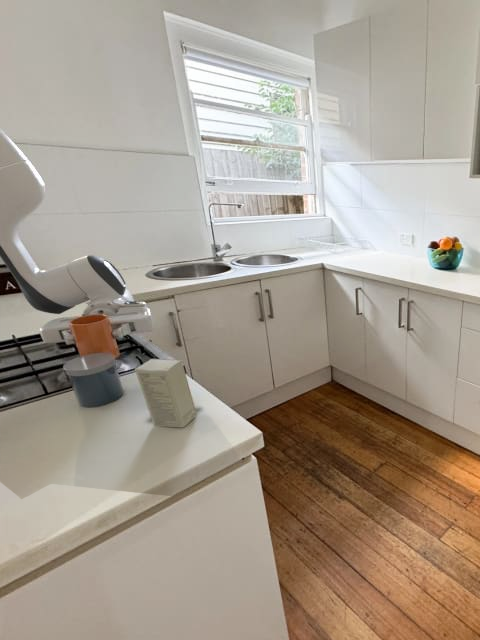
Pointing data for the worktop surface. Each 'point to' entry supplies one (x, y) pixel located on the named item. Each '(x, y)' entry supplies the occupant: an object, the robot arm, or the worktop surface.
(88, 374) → the jar
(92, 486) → the worktop surface
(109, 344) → the cup
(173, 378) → the cosmetic box
